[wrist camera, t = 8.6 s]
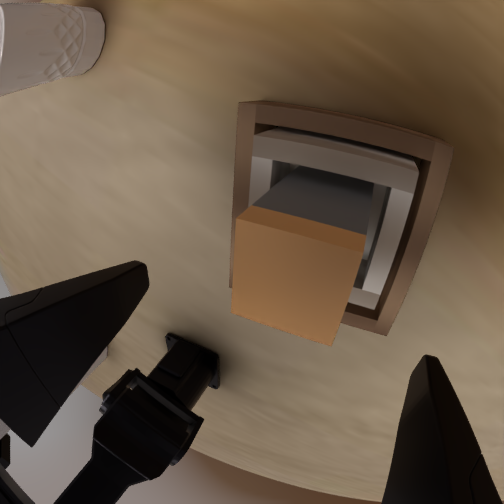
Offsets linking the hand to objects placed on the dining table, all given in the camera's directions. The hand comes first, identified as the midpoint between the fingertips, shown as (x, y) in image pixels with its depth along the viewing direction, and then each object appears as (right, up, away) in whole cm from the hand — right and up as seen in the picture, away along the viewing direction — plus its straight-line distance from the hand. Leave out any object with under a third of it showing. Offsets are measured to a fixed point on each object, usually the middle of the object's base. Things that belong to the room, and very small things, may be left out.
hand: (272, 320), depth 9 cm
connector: (+4, +4, +8) cm, 10 cm away
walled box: (+5, +5, +10) cm, 12 cm away
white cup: (-16, +21, +11) cm, 28 cm away
